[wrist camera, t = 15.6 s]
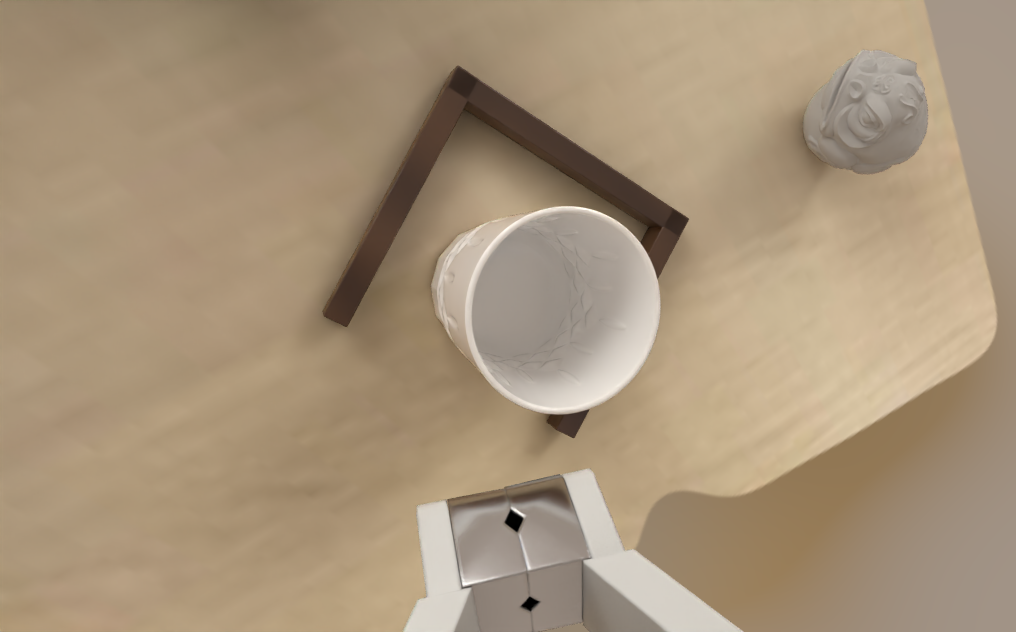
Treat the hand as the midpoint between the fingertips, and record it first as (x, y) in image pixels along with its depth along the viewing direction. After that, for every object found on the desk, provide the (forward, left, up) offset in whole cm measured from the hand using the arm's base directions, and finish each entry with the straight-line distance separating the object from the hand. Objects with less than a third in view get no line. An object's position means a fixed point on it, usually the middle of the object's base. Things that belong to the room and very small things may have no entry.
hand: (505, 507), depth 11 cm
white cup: (+6, +1, -23) cm, 24 cm away
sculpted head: (+26, +10, -23) cm, 36 cm away
